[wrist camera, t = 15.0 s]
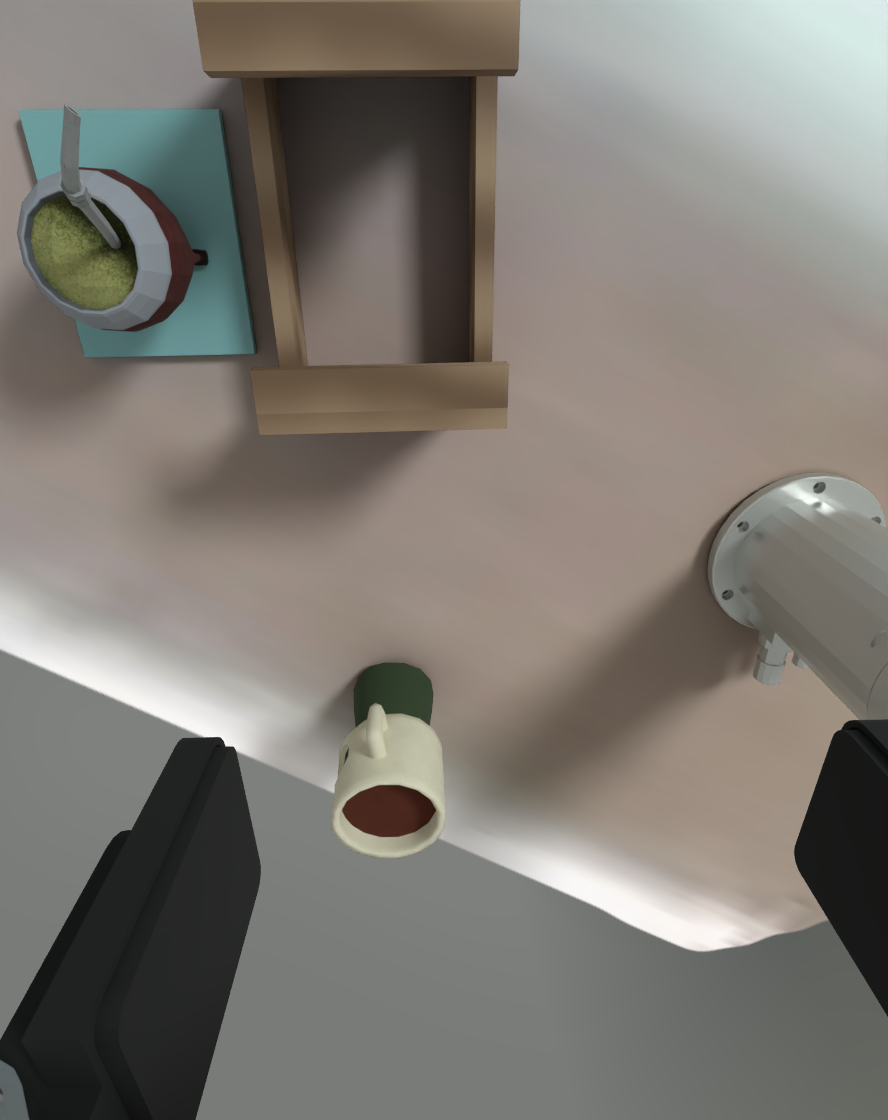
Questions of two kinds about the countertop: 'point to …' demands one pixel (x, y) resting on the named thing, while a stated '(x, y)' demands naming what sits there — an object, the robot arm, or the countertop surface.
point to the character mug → (390, 767)
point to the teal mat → (190, 194)
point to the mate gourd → (104, 244)
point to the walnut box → (258, 59)
